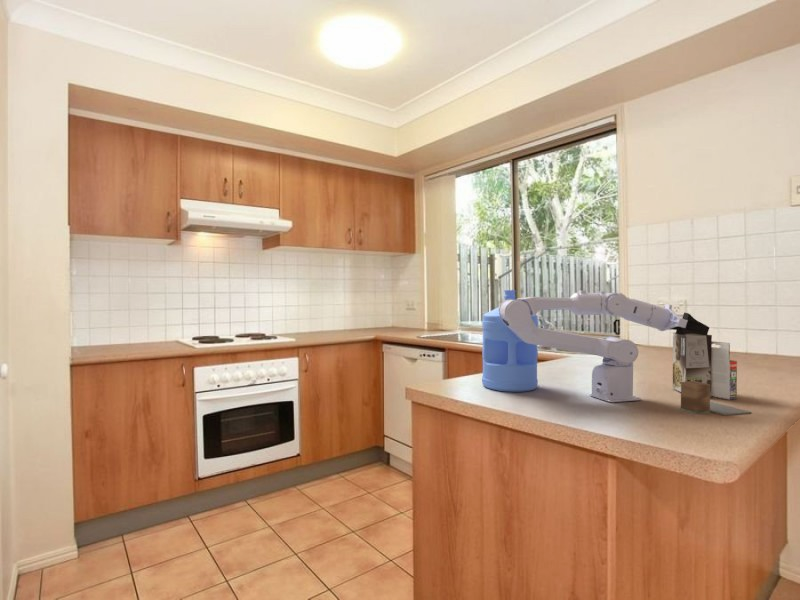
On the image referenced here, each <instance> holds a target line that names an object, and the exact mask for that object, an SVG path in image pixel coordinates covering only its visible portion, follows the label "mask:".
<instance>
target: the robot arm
mask: <svg viewBox="0 0 800 600" xmlns="http://www.w3.org/2000/svg"><path fill="white" fill-rule="evenodd" d="M586 291H587V290H578V292H574V293H573V294H571V295H570V297H554V296H550V297H549V296H548V297H547V296H546V297H545V296H524V297H519V298H516V299H515V300H514V299H508V300H505V299H504V300H503V301H502V302H501V303H500V304H499V306H498V307H499V315H500V317H501V319H502V321H503V323H504V324H505V325H506V326H507V327H508V328H509V329H510V330H511V331H513V332H514V333H515V334H516V335H517V336H518V337H519V338H520V339H521V340H522V341H524V342H526V343H528V344H534V345H537V346H541V347H547V348H552V349H556V350H557V349H558V350H562V351H563V350H564V351H569V352H574V353H580V354H587V355H588V354H589V355H592V356H597V357H601V358H603V359H602V363H600V364H597V365H595V366H594V367H593V369H592V372H591V393H589V396H590V397H594V398H596V399H600V400H602V401H605V402H609V403H619V402H621V403H622V402H633V401H641V400H642V398H641V397H639V396H635V395H634V363H635V361H636V360H637V359H638V356H639V349H638V346H637V344H636V343H635V342H633V341H632V340H630V339H623V338H619V337H616V336H613V335H610V336H605V337H596V336H588V335H583V334H577V333H571V332H565V331H560V330H554V329H547V328H542V327H538V328H537V327H536V325H535V323H534V322H533V320H532V318H531V315H537V313H539V312H540V311H555V310H557V311H558V310H559V311H560V310H562V311H563V310H565V311H567V310H569V311H570V312H571V313H572V314H573V315H577V316H602V315H603V316H607V315H608V316H613V317H619V318H621V319H624V320H625V321H629V322H633V323H637V324H640V325H643V326H646V327H650V328H653V329H656V330H658V331H660V332H665V331H668V330H669V331H670V330H673V331H675V333H676V334H679V335H685V334H698V335H707V334H708V333H709V331H710V327H709V326H708V325H706V324H704V323H703V322H700V321H698V320H697V319H696V318H694V317H693V316H692V315H691V313H688V312H683V315H682V317H680V316H679V315H678V314H677V313H676V312H675V311H674V310H673V309H672V308H673V305H672V304H669V303H668V304H667V303H666V304H665V306H664V307H663V306H660V305H656V304H653V303H649V302H645V301H643V300H640V299H635V298H630V297H627V296H626V295H625V294H623V292H620V293H619V292H605V291H603V290H600V291H598V292H586ZM708 335H709V334H708Z"/></svg>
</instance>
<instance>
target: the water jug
mask: <svg viewBox="0 0 800 600" xmlns="http://www.w3.org/2000/svg"><path fill="white" fill-rule="evenodd" d="M503 292H504V301H505V300H508V299H514V300H516V299H517V298H516V296H517V295H516V289H515V290H514V289H508V290H507V289H504V291H503ZM499 307H500V306H498V307H495V308H494V309H492V310H490V311H488V312H486V313H484V314H483V315H482V322H481V323H482V326H481V327H482V351H481V352H482V356H481V357H482V377H481V383H482V385H483V386H484V387H485V388H487V389H490V390H493V391H498V392H507V393H520V392H521V393H522V392H523V393H524V392H530V391H534V390H535V389H536V388H538V382H539V381H538V357H539V356H538V355H539V351H538V345H534V344H528V343H526V342H524V341H522V340H521V339H520V338H519V337H518V336H517V335H516V334H515V333H514V332H513V331H511V330H510V329H509V328H508V327H507V326H506V325H505V324H504V323H503V321H502V319H501V317H500V315H499ZM531 318H532V320H533V322H534V323H535V325H536V327H537V328H539V323H538V315H537V314H535V315H531Z"/></svg>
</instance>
